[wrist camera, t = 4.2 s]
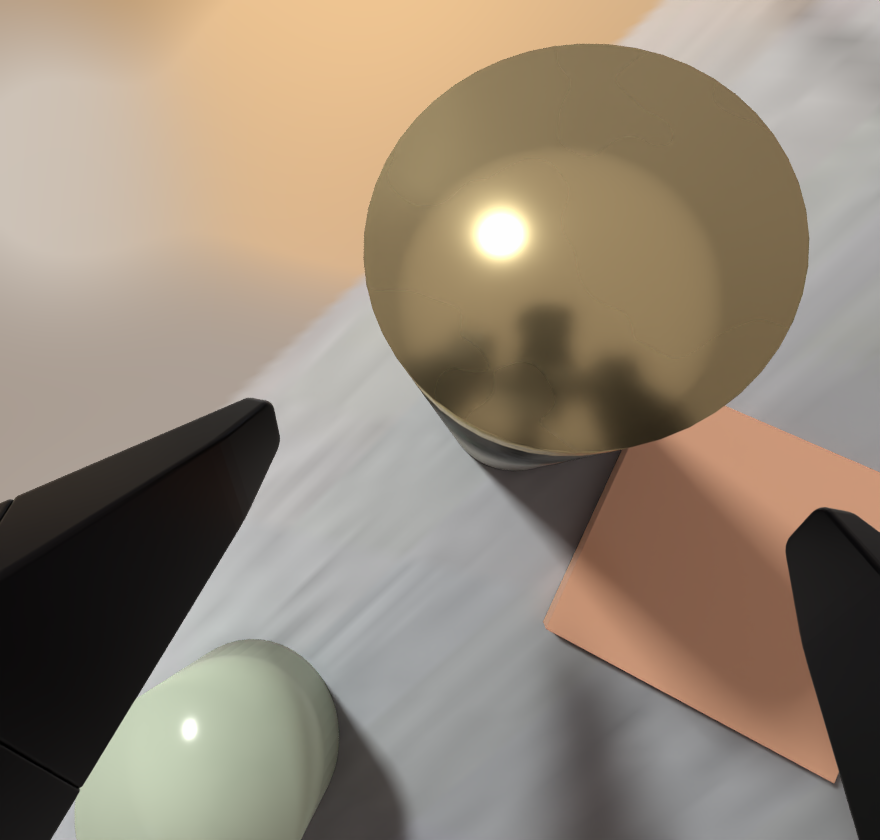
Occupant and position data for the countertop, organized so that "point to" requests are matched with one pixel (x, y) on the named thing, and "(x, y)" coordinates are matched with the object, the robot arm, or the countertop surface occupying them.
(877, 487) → the plate
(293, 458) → the countertop surface
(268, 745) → the pale green rounded piece
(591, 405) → the canister
